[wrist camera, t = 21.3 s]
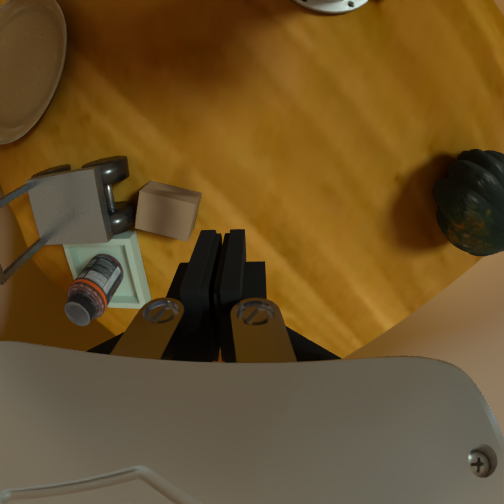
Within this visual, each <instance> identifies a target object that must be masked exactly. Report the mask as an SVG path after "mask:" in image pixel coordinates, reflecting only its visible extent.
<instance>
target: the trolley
mask: <svg viewBox="0 0 504 504" xmlns="http://www.w3.org/2000/svg"><path fill="white" fill-rule="evenodd" d="M128 177H129V169H128V161H127V156H114V157H108V158H103V159H99V160H96V161H92V162H89V163H87V164H85V165H83V166H82V167H81V169H75V170H71V167H70V165H69V164H66V165H60V166H56V167H52V168H49V169H46V170H43V171H41V172H39V173H36V174H34V175H33V176H32V177H31V179H29V180H27V181H26V184H25V185H23V186H21V187H19V188H17V189H16V190H14V191H12V192H10V193H9V194H7V195H5V196H4V197H2V198H0V208H1V207H3V206H4V205H6V204H7V203H9V202H10V201H12V200H14V199H15V198H17V197H19V196H20V195H22V194H24V193H25V192H27V191H28V194H29V198H30V203H31V207H32V211H33V214H34V218H35V222H36V225H37V229H38V232H39V236H40V239H38V240H37V241H36V242H35V243H34V244H33V245H32V246H30V247H29V248H28V249H27V250H26V251H25V252H24V253H23V254H22V255H20V256H19V257H18V258H17V259H16V260H15V261H14V262H13V263H12V264H11V265H10V266H9V267H8V268H7V269H6V270H5V271H4V272H3V270H2V267H1V265H0V284H2V285H3V284H4V283H5V282H6V281H7V280H8V279H9V278H10V277H11V276H12V275H13V274H14V273H15V272H16V271H17V270H18V269H19V268H20V267H21V266H22V265H23V264H24V263H25V262H26V261H27V260H28V259H29V258H30V257H31V256H33V255H34V254H35V253H36V252H37V251H38V250H39V249H40V248H41V247H42V246H43V245H55V244H82V243H108V242H109V241H110V240H111V239H112V238H113V235H117V234H121V233H124V232H126V231H128V230H130V229H132V228H133V227H134V226H135V223H136V213H135V208H134V204H133V203H132V202H128V201H121V202H114V196H113V191H112V185H111V184H113V183H116V182H119V181H122V180H124V179H126V178H128ZM103 186H104V188H103ZM104 189H105V194H106V199H105V194H104ZM106 200H107V204H106Z"/></svg>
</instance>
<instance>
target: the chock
mask: <svg viewBox="0 0 504 504" xmlns="http://www.w3.org/2000/svg"><path fill="white" fill-rule="evenodd" d="M201 195H202V193H200V192H196V191H192V190H188V189H183V188H179V187H175V186H171V185H167V184H162V183H158V182H154V181H150V182H149V183H148V184H147V185H146V186H144V187H143V188H142V189H141V190H140V191H139V199H138V206H137V214H136V223H135V228H136V229H140V230H144V231H148V232H152V233H155V234H159V235H163V236H167V237H171V238H175V239H179V240H183V241H187V242H188V240H189V238H190V236H191V233H192V231H193V229H194V226H195V221H196V217H197V212H198V208H199V203H200V199H201Z"/></svg>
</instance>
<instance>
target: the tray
mask: <svg viewBox="0 0 504 504" xmlns="http://www.w3.org/2000/svg"><path fill="white" fill-rule="evenodd" d="M63 248H64V251H65V254H66V257H67V261H68V264H69V267H70V270H71V273H72V276H73V279H74V280H75V279H76V278H77V276H78V275H79V274H80V273H81V271H82V270H83V269H84V268H85V266H86V265H87V264H88V263H89V262H90V260H91V259H92V258H93V257H94V256H96V255H98V254H108V255H111V256H113V257H114V258H115V259H117V260H118V261H119V263H120V264H121V266H122V268H123V272H124V275H123V280H122V282H121V284H120V285H119V287H118V289H117V290H116V292H115V294H114V295H113V297H112V299H111V301H110V302H109V304H108V306H107V307H115V308H135V309H141V308H142V307H143V305H144V304H146V303H148V302H149V301H151V296H150V292H149V288H148V284H147V280H146V275H145V271H144V267H143V262H142V258H141V253H140V248H139V244H138V239H137V234H136V231H126V232H124V233H121V234H117V235H113V238H112V239H111V240H110V241H109V242H108V243H82V244H63Z"/></svg>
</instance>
